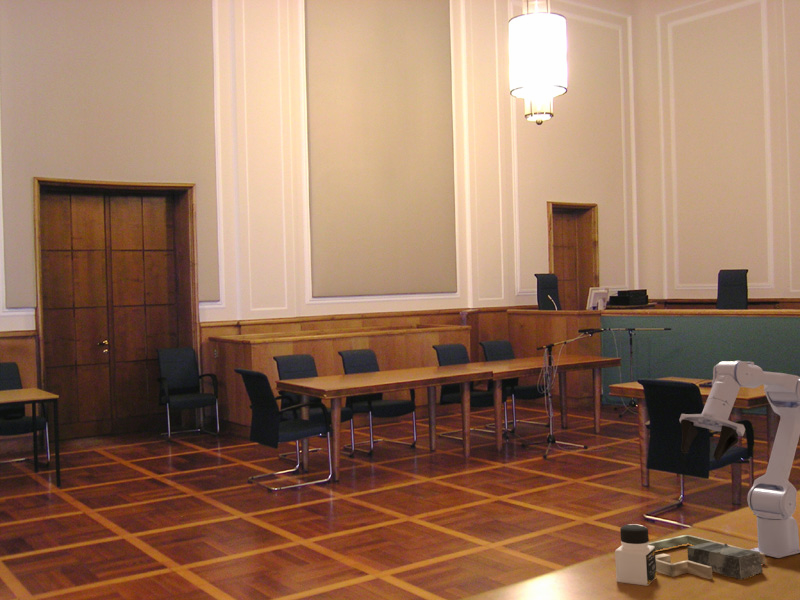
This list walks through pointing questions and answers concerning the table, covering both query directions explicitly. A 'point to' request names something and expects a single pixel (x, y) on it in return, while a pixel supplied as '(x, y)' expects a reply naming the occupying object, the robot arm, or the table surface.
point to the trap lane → (685, 566)
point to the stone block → (726, 559)
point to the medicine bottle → (635, 556)
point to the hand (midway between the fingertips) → (699, 455)
